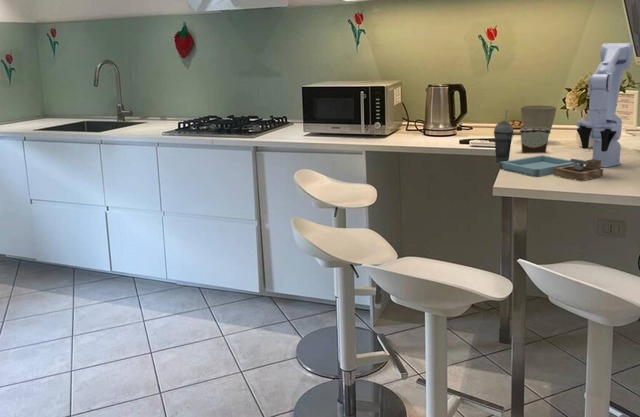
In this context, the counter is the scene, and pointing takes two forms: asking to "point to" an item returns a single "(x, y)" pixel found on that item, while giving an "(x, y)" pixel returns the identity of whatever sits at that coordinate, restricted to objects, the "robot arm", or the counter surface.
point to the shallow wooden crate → (588, 172)
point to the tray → (535, 165)
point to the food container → (534, 139)
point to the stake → (579, 164)
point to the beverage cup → (503, 140)
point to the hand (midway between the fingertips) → (594, 149)
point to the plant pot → (538, 116)
